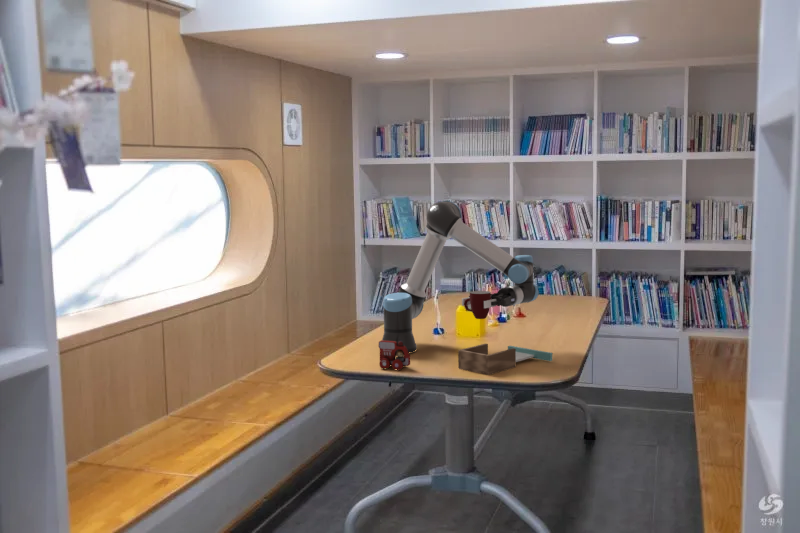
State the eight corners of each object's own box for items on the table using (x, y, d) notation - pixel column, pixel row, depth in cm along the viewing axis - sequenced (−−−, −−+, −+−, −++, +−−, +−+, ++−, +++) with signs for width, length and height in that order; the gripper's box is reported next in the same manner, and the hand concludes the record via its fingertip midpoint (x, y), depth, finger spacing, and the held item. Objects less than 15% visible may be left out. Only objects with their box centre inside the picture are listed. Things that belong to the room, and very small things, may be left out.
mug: (461, 319, 304) (460, 293, 303) (466, 315, 311) (466, 290, 310) (488, 320, 300) (488, 294, 299) (493, 316, 308) (492, 291, 307)
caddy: (458, 368, 298) (458, 350, 297) (485, 361, 309) (485, 343, 308) (488, 374, 287) (488, 355, 287) (515, 367, 299) (515, 348, 298)
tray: (484, 359, 308) (484, 352, 308) (509, 352, 319) (509, 345, 319) (527, 367, 294) (527, 359, 294) (552, 360, 305) (552, 352, 305)
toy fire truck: (406, 371, 295) (405, 343, 294) (375, 369, 299) (375, 341, 298) (413, 367, 301) (412, 340, 300) (382, 364, 306) (382, 338, 305)
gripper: (532, 308, 311) (497, 316, 296) (487, 303, 328) (451, 310, 312) (532, 289, 311) (496, 296, 295) (487, 285, 327) (450, 291, 311)
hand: (473, 303), depth 304 cm, fingers closed on mug, 10 cm apart
